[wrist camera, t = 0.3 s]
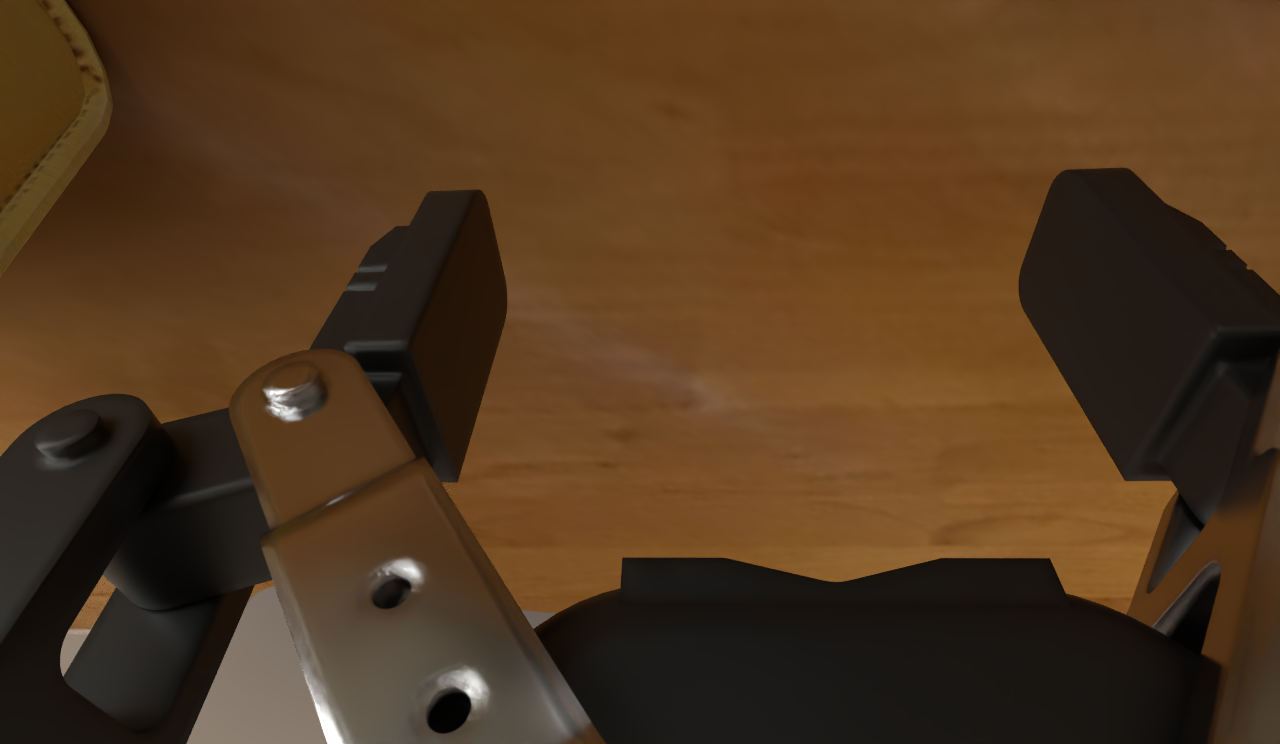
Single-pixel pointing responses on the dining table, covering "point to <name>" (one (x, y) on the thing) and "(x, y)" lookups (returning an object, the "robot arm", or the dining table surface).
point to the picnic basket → (44, 112)
